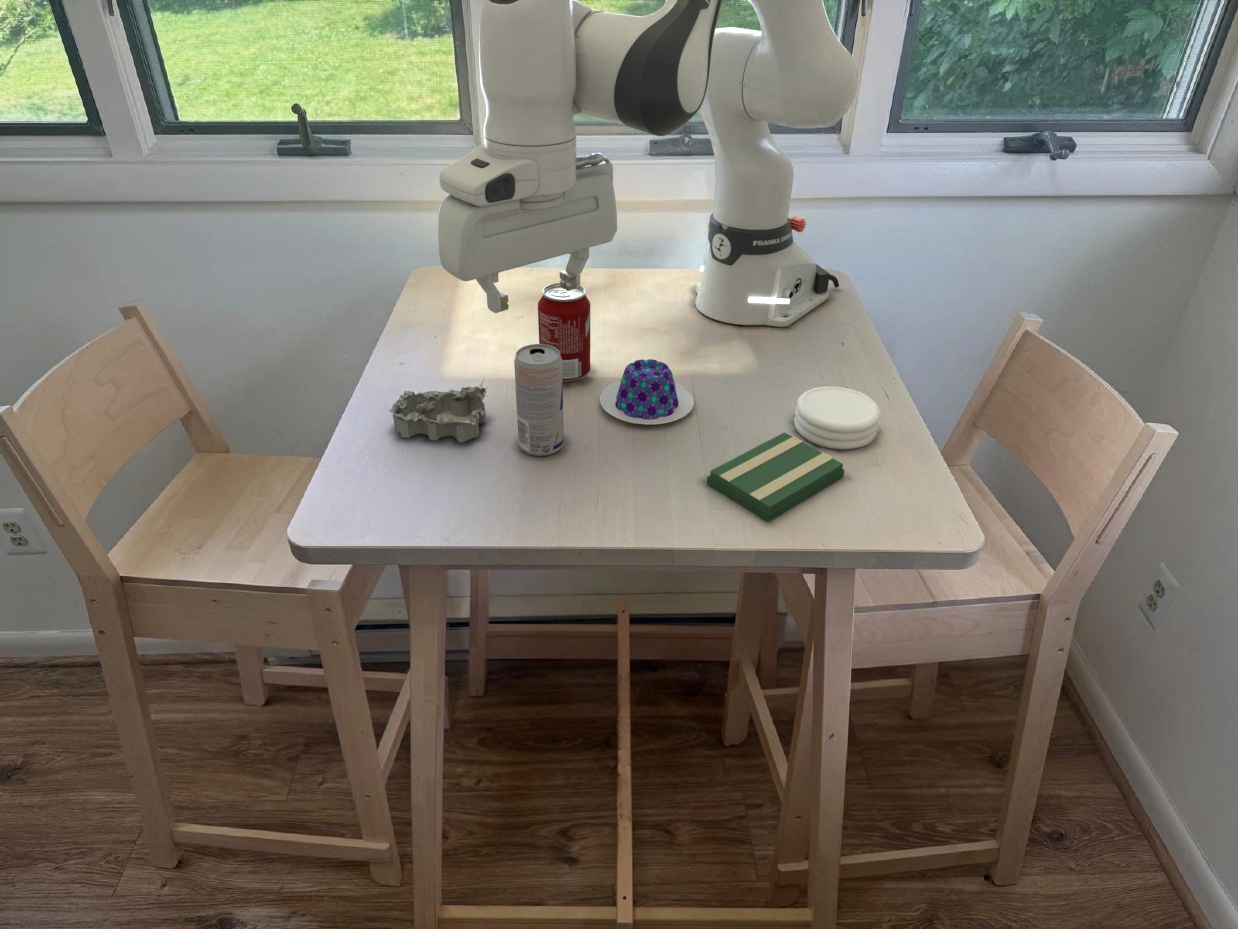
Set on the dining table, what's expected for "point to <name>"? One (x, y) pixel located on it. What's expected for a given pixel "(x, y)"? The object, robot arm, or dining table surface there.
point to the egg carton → (440, 413)
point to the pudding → (647, 395)
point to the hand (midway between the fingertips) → (535, 298)
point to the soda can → (566, 328)
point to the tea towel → (775, 476)
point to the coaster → (837, 417)
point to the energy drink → (539, 399)
